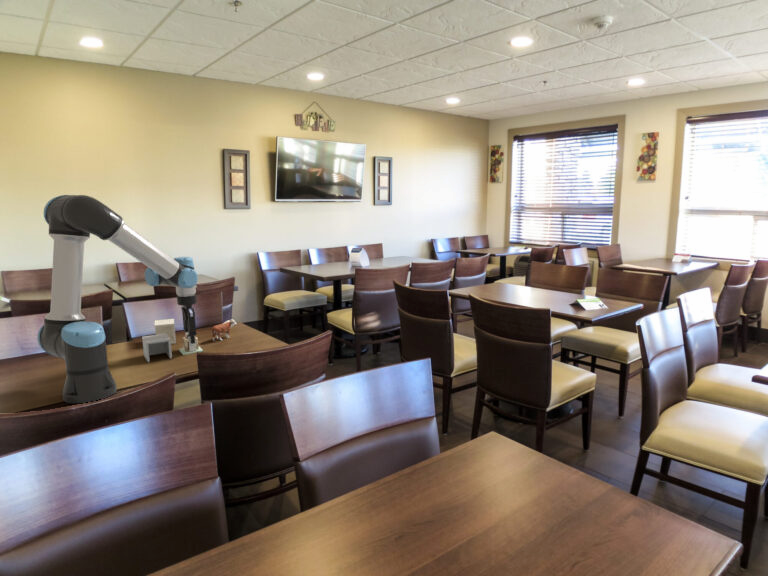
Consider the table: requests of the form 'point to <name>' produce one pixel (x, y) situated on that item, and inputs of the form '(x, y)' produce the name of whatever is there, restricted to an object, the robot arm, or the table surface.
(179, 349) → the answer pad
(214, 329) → the bull figurine
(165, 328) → the cream hood
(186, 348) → the letter cube
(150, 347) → the grey hood
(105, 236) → the robot arm
